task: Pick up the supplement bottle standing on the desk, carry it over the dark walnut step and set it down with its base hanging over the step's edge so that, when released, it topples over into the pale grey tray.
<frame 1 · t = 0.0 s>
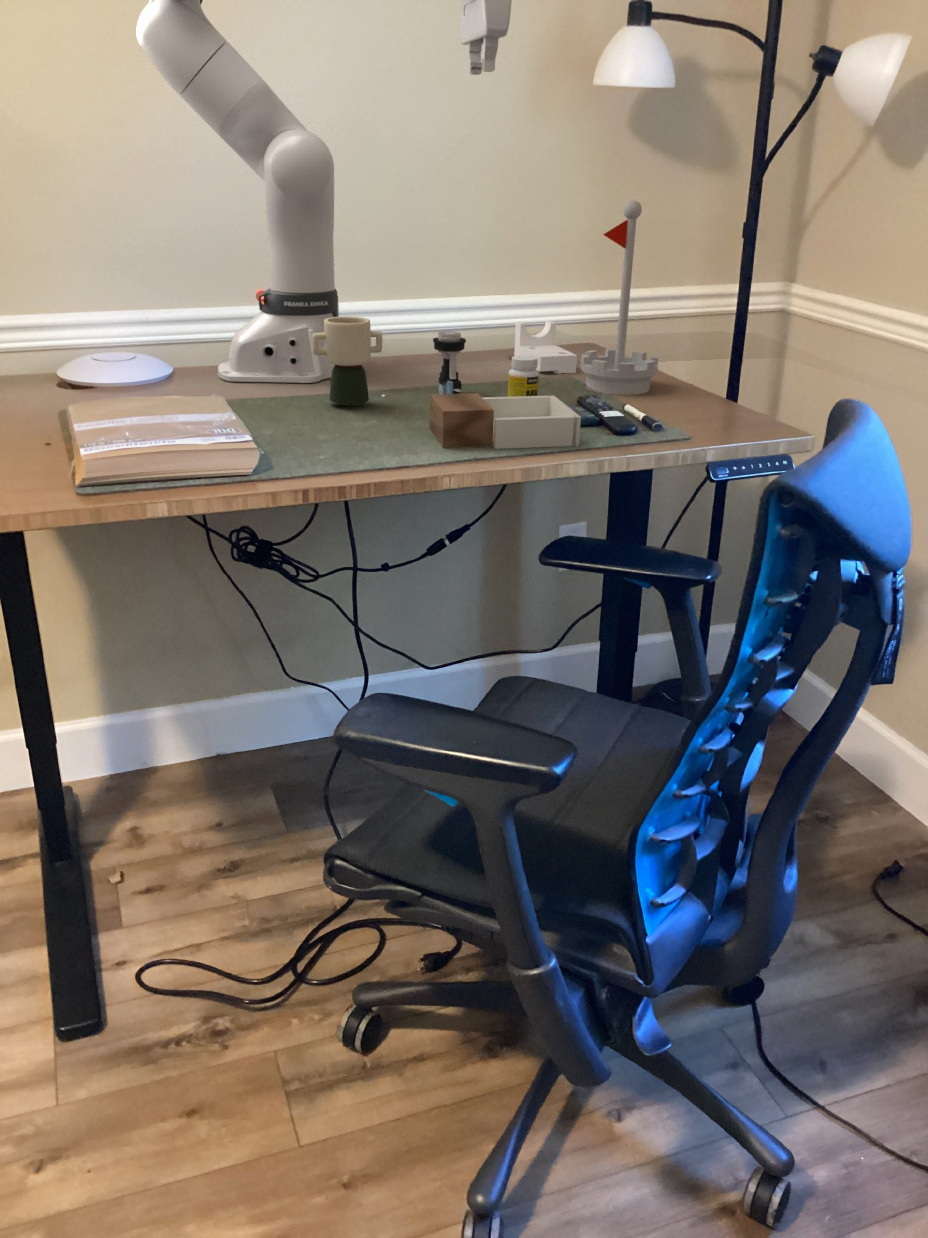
hand: (481, 72, 166), 48 cm above the table, tool pointing down, fingers open, 8 cm apart
cream and green trophy: (349, 405, 160), on the table
bracket: (544, 369, 190), on the table
flag stand: (617, 388, 175), on the table
supplement bottle: (521, 413, 158), on the table
push button: (450, 397, 167), on the table
grey tray: (498, 435, 145), on the table
walnut step: (460, 419, 143), on the table
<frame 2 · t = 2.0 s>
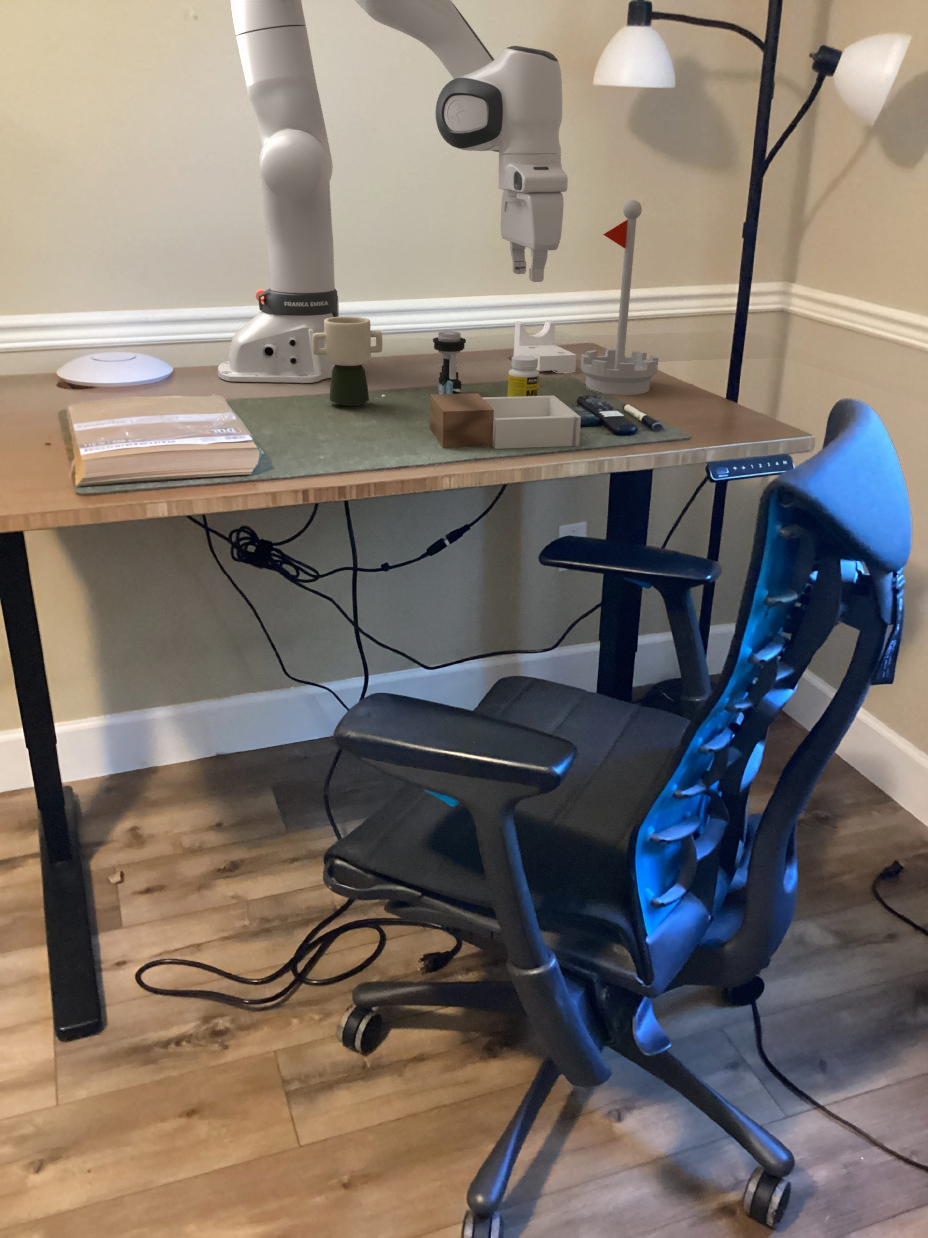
hand: (527, 277, 151), 20 cm above the table, tool pointing down, fingers open, 8 cm apart
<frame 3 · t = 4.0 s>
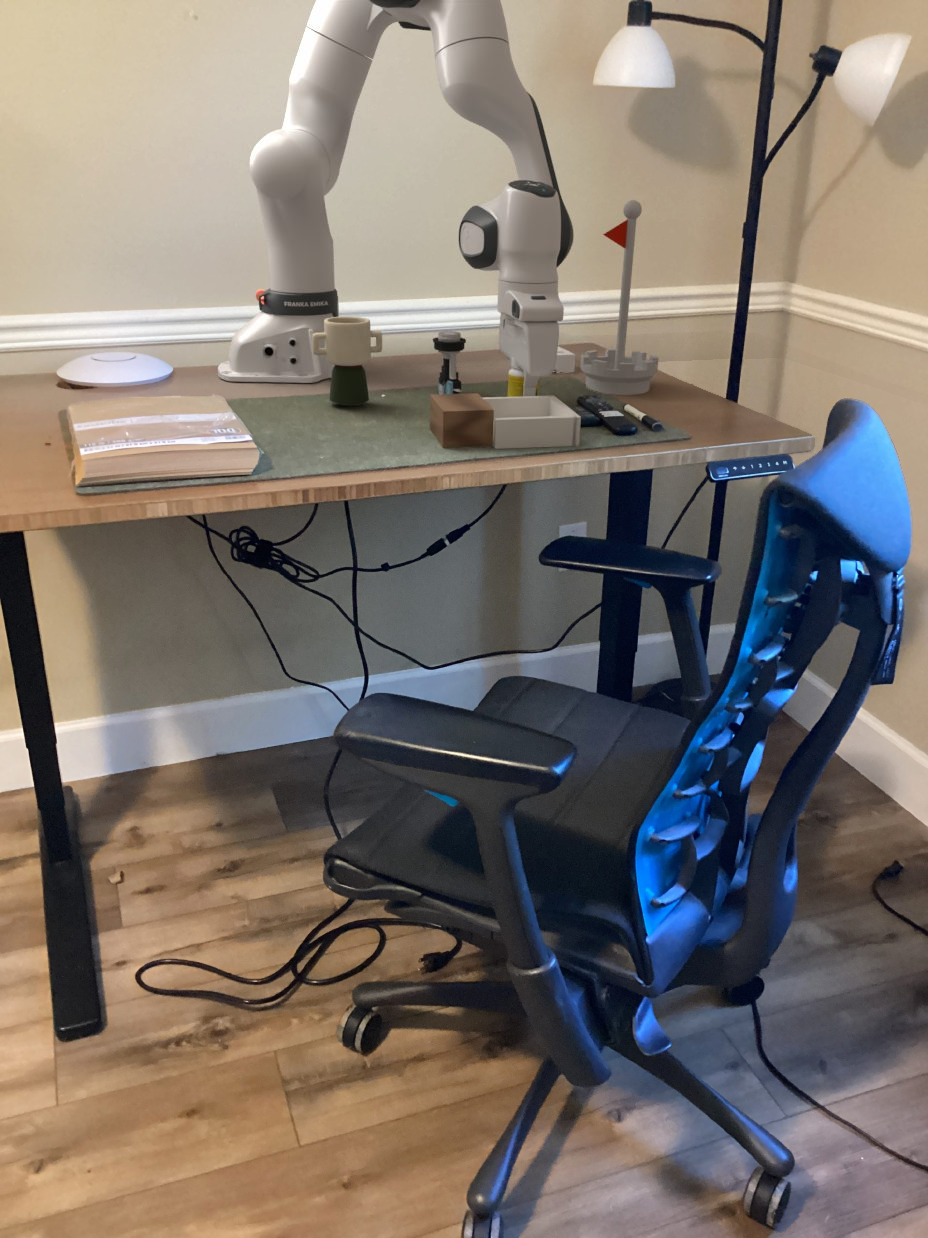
hand: (523, 393, 156), 3 cm above the table, tool pointing down, fingers closed on supplement bottle, 5 cm apart
supplement bottle: (521, 413, 158), on the table, touching gripper
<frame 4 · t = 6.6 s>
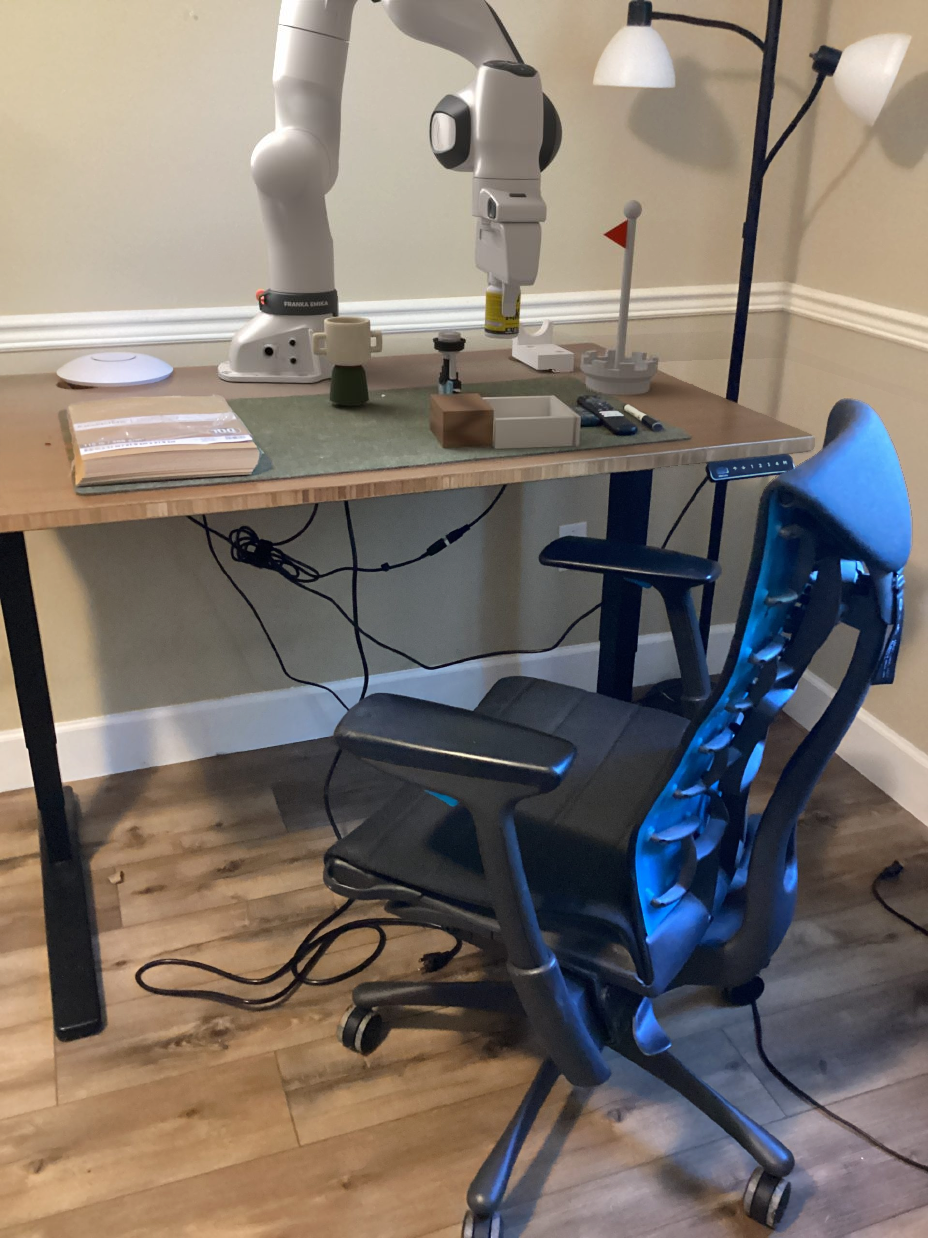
hand: (502, 312, 138), 17 cm above the table, tool pointing down, fingers closed on supplement bottle, 5 cm apart
supplement bottle: (501, 337, 139), point 14 cm above the table, touching gripper
when the fingers open (9 cm above the table, at t = 8.2 s): supplement bottle drops 2 cm, resting on grey tray.
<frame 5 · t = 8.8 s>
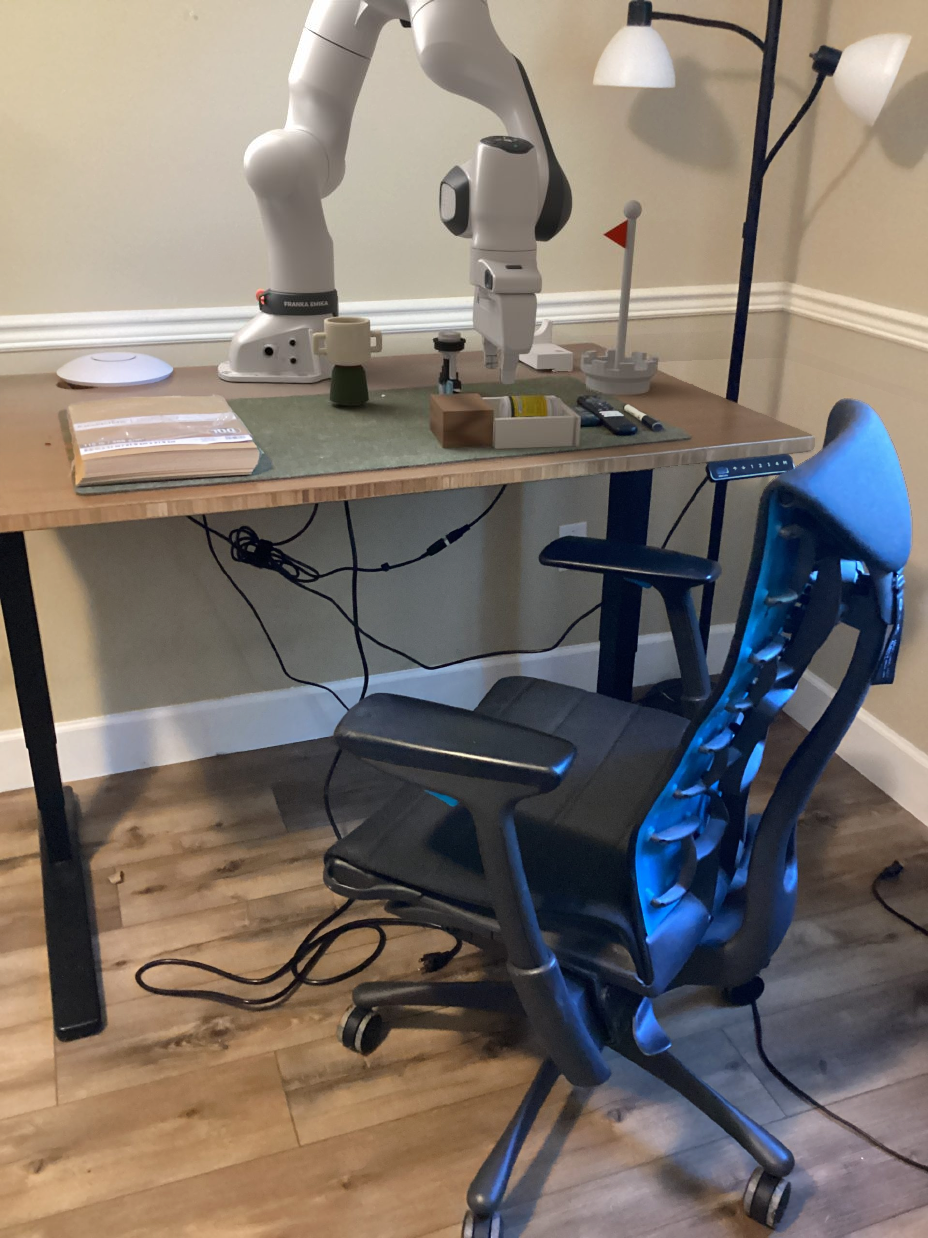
hand: (498, 375, 141), 9 cm above the table, tool pointing down, fingers open, 8 cm apart
supplement bottle: (501, 413, 144), point 3 cm above the table, touching grey tray
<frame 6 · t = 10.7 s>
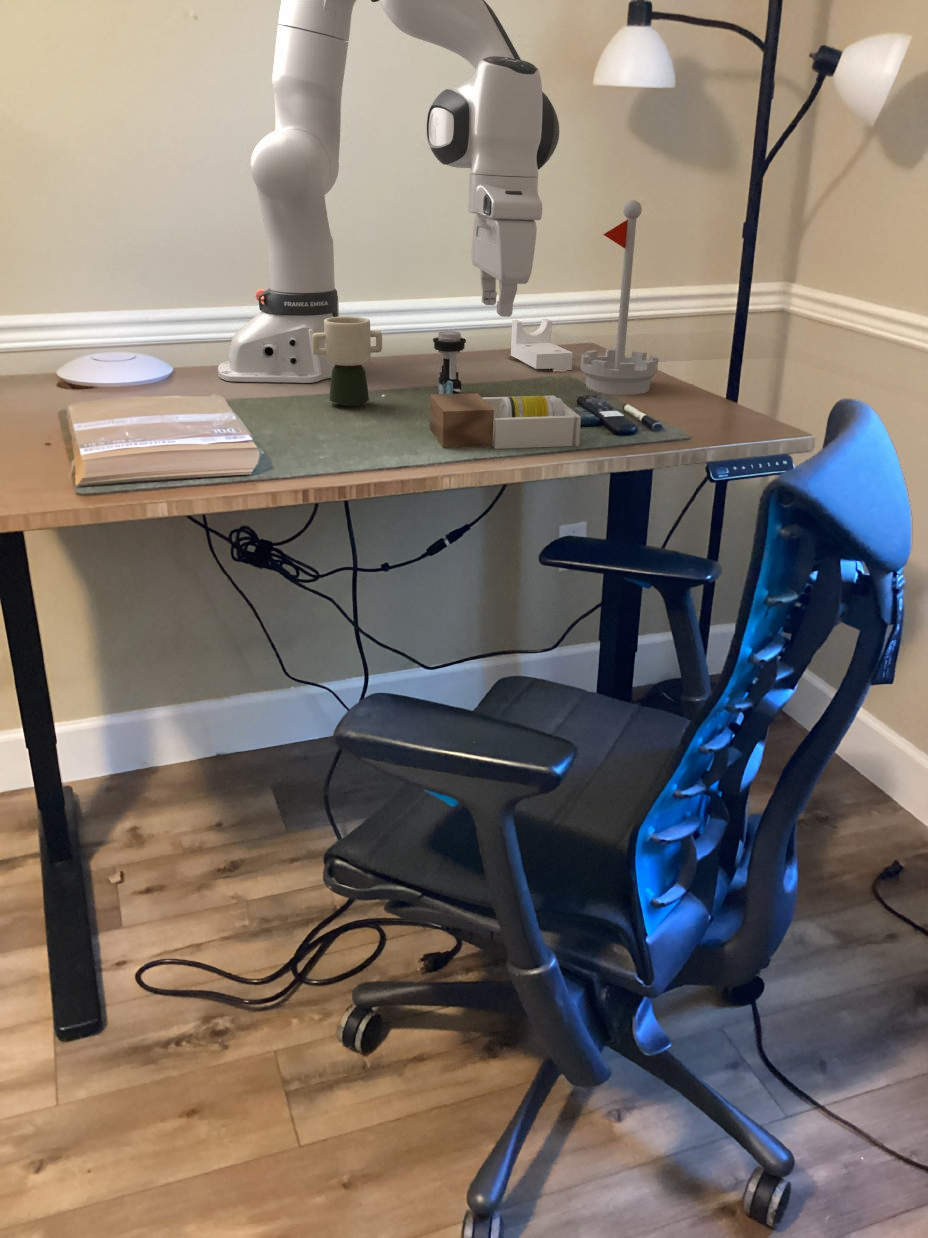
hand: (496, 309, 137), 17 cm above the table, tool pointing down, fingers open, 8 cm apart
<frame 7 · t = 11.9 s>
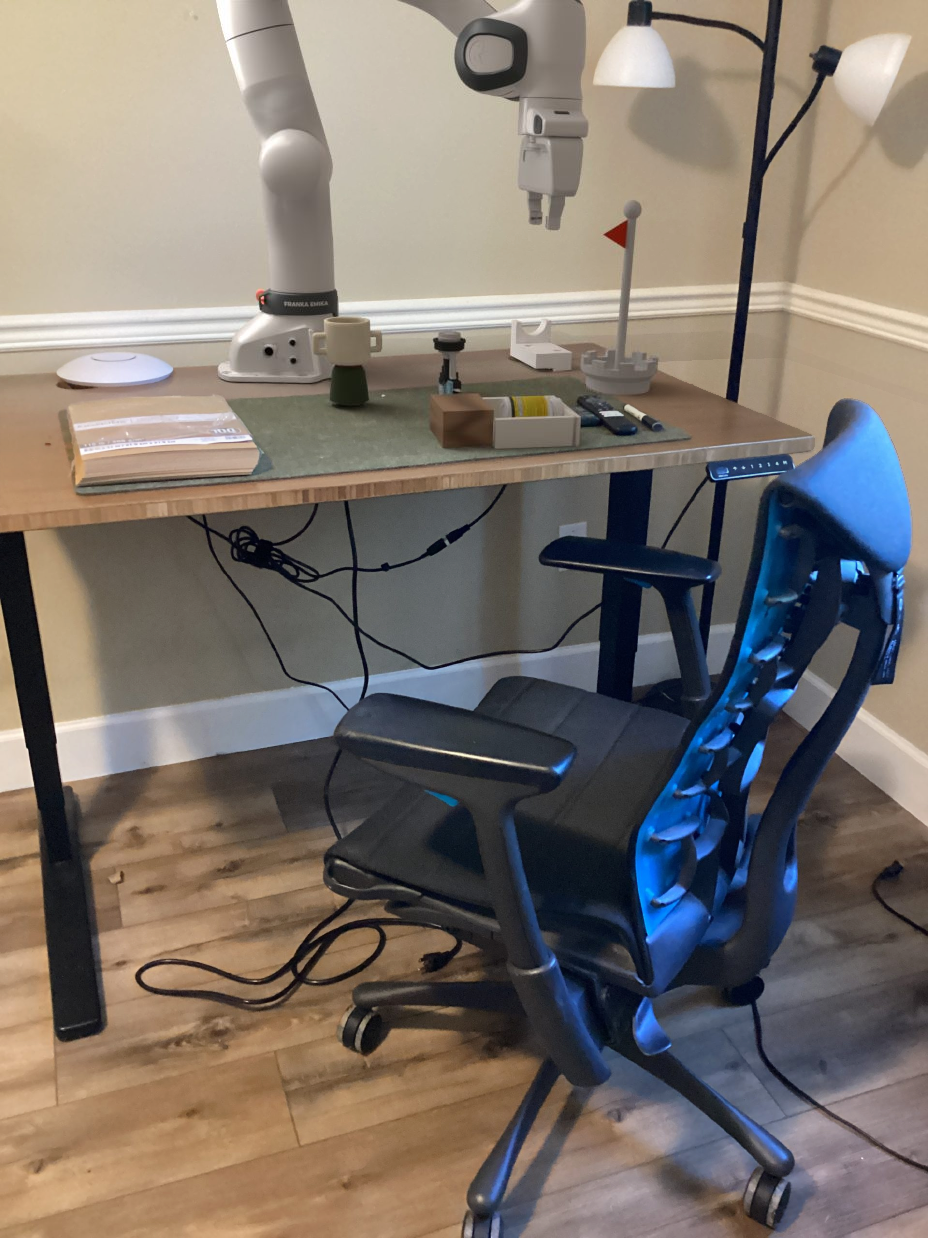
hand: (543, 227, 149), 27 cm above the table, tool pointing down, fingers open, 8 cm apart
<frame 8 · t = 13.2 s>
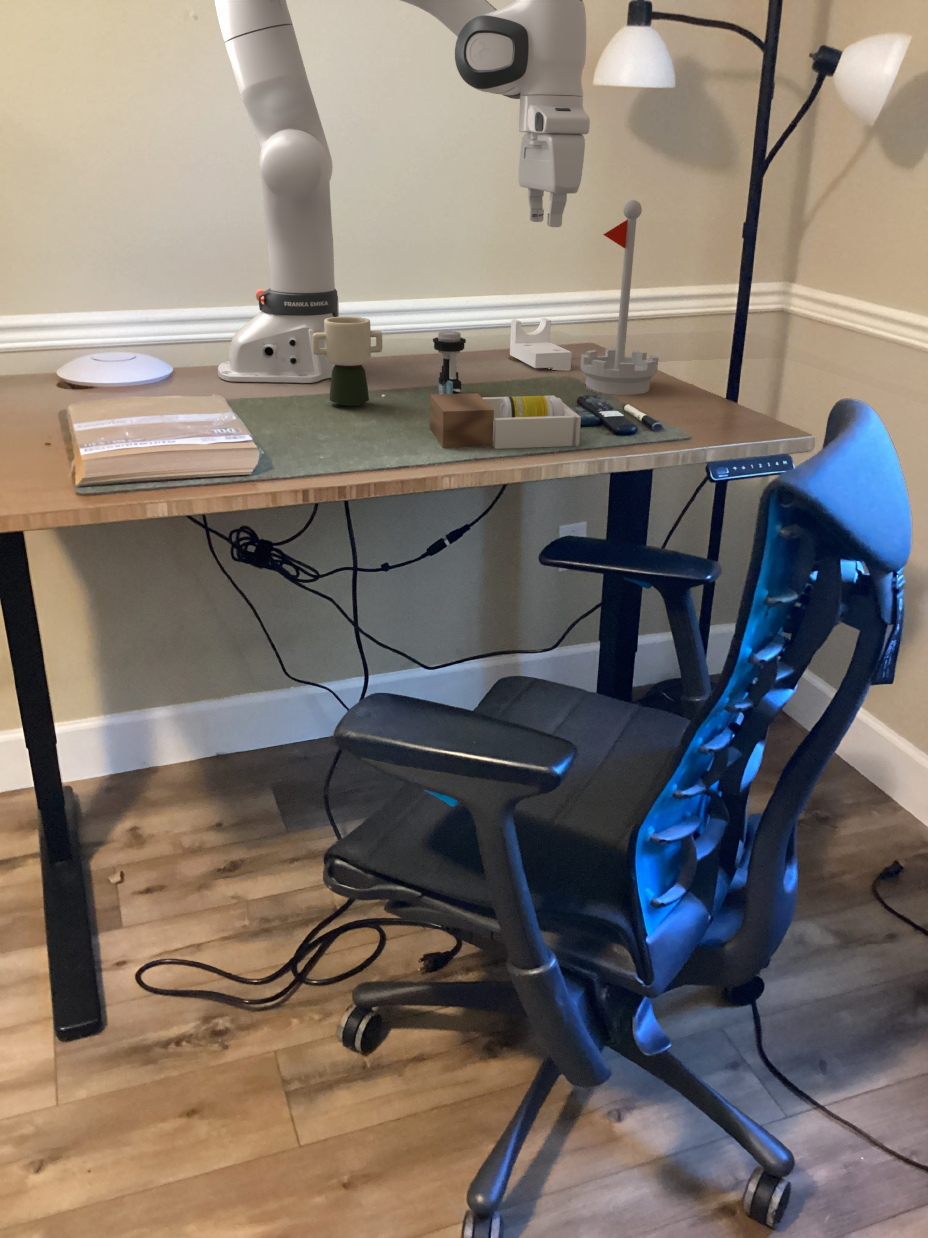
hand: (545, 224, 149), 27 cm above the table, tool pointing down, fingers open, 8 cm apart
at the end: supplement bottle tilted 90°; supplement bottle inside the target area (3.6 cm from its centre), point 3.1 cm above the table; the gripper is holding nothing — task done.
